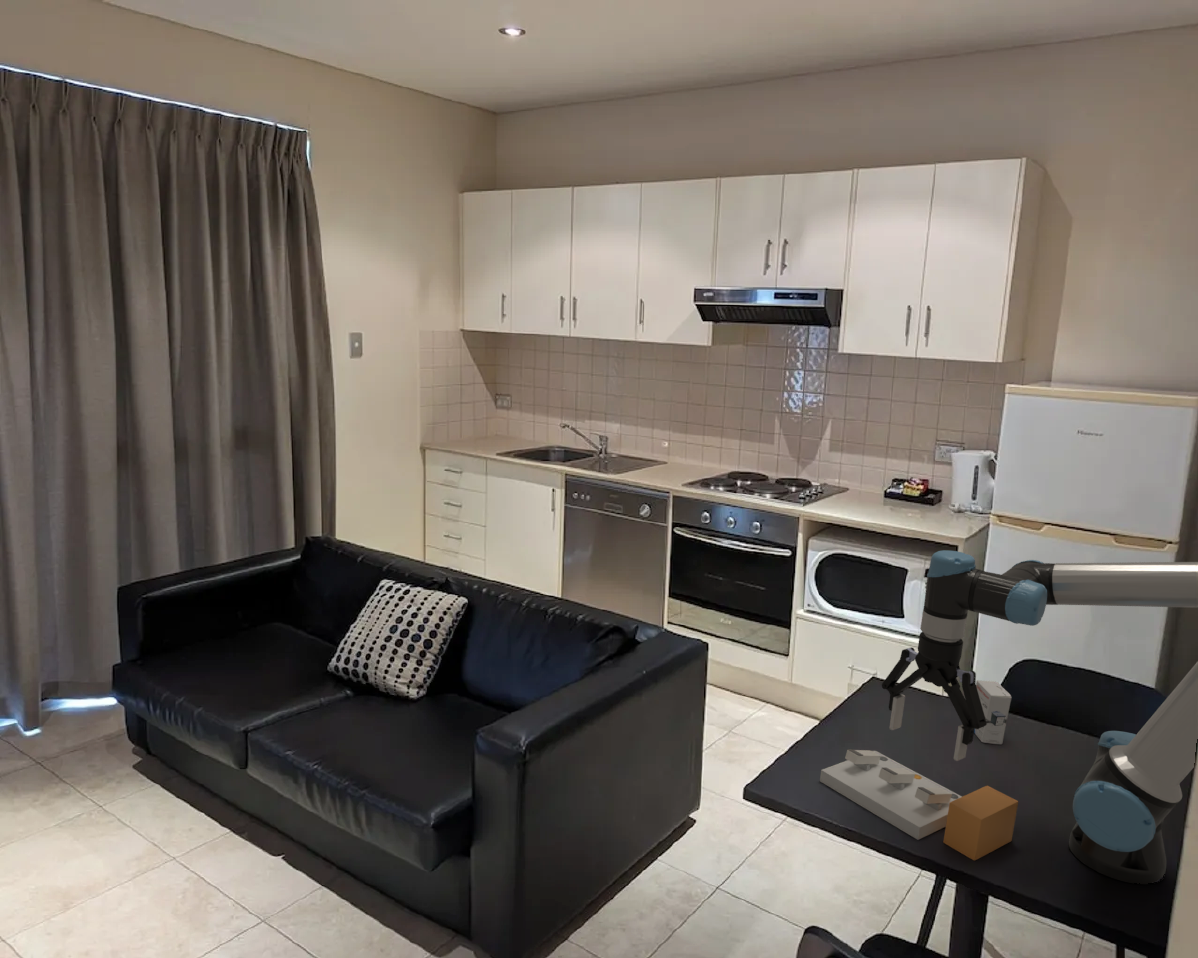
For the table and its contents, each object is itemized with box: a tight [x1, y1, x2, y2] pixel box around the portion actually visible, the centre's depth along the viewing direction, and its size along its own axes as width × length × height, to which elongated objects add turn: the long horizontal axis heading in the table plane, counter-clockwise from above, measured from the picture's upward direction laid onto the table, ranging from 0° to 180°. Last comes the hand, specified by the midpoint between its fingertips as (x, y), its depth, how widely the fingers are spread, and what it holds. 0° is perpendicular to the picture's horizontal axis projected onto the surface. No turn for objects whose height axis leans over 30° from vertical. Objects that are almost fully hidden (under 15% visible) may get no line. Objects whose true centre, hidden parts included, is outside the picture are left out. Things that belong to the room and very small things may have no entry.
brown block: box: [942, 785, 1019, 861], centre depth 162 cm, size 6×12×8 cm, turn 126°
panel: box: [819, 750, 963, 841], centre depth 176 cm, size 23×17×4 cm
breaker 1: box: [844, 748, 881, 764], centre depth 182 cm, size 3×8×2 cm, turn 125°
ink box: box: [974, 679, 1012, 745], centre depth 205 cm, size 9×5×12 cm, turn 179°
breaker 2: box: [879, 768, 915, 783], centre depth 176 cm, size 3×8×2 cm, turn 126°
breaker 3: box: [915, 787, 952, 804], centre depth 169 cm, size 3×8×2 cm, turn 125°
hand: (926, 742), depth 167 cm, fingers open, 13 cm apart
